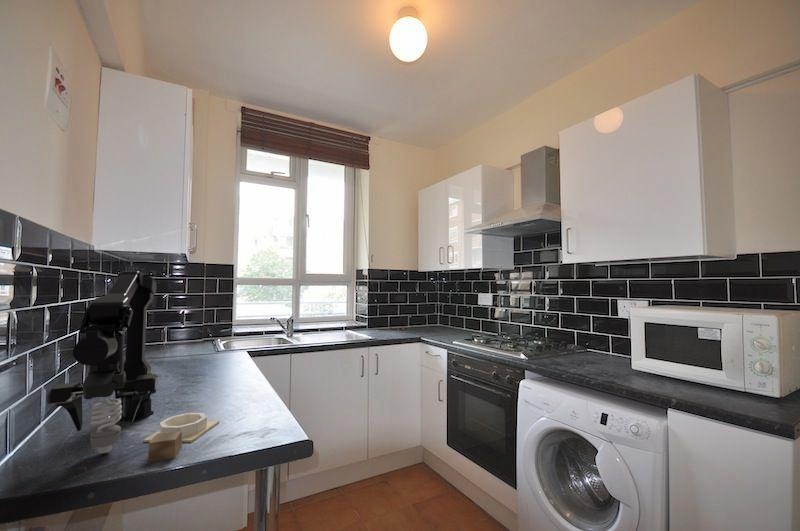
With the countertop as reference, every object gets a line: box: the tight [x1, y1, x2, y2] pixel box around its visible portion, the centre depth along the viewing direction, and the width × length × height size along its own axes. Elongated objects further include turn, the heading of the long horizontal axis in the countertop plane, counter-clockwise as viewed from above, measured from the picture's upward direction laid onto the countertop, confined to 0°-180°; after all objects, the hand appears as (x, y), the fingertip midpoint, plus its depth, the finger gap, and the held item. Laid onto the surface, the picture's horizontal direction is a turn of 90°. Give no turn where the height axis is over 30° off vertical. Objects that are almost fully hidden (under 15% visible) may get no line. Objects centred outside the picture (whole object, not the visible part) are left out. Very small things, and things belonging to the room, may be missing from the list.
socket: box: [142, 412, 220, 443], centre depth 92 cm, size 12×12×3 cm
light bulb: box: [89, 398, 122, 455], centre depth 81 cm, size 6×6×12 cm
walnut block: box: [147, 431, 183, 463], centre depth 80 cm, size 5×5×4 cm
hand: (106, 426), depth 81 cm, fingers open, 9 cm apart
